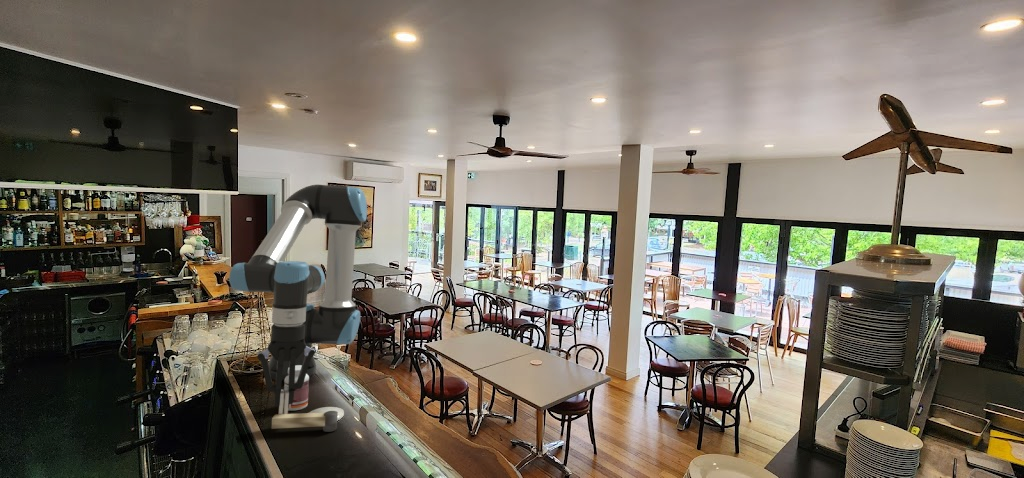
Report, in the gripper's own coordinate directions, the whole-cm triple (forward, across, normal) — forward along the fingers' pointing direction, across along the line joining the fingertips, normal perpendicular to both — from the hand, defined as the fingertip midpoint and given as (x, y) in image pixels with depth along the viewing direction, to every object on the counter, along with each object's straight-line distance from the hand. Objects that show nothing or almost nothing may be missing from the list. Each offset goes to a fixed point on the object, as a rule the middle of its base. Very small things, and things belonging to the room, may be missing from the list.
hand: (282, 417), depth 108 cm
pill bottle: (+3, +4, +12) cm, 13 cm away
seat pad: (+3, +10, +2) cm, 11 cm away
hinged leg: (+2, +5, -4) cm, 7 cm away
